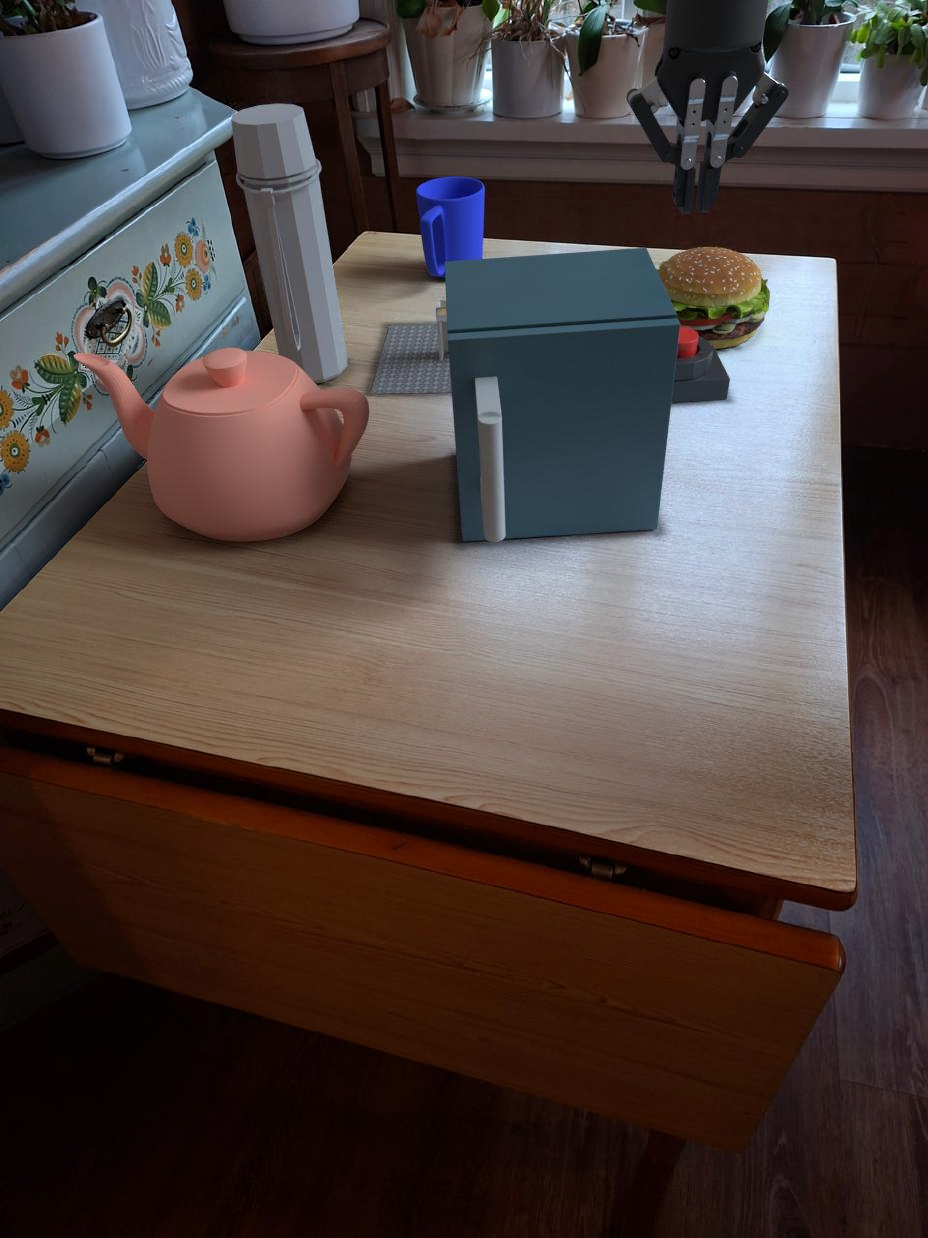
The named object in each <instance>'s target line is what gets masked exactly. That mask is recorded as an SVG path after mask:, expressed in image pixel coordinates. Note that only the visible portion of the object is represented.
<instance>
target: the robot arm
mask: <svg viewBox="0 0 928 1238" xmlns="http://www.w3.org/2000/svg"><path fill="white" fill-rule="evenodd" d="M768 5H769V0H666V11H665V12H666V13H665V24H664V33H663V34H664V35H663V47H662V53H661V57H660V59H659V61H658V62H657V64H656V66H655V69H654V76H653V77H652V78H651V79H650V80H648V81H646V83H644V84H643V85H642V86H641V87H640V88H637V87H636V88H631V89H629V90H628V91H627V93H626V98H625V99H626V102H627V104H628V105H629V107H630V109H631V111H632V113H633V114H634V116H635V117H636V119H637V121H638V123H639V125H640V126H641V128H642V130H643V132H644V133H645V135H646V137H647V139H648V140H649V142H650V144H651V146H652V147H653V149H654V151H655V152H656V154H657V155H658V157H659V159H660V161H661V162H662V163H665V164H672V165H674V174H673V184H672V194H671V196H672V200H673V203H674V205H675V207H676V208H678V210H679V211H680V213H681V214H682V215H689V214H692V210H693V202H694V192H695V183H696V176H697V174H696V173H697V169H696V167H695V164H696V157H697V149H698V140H699V138H700V135H701V125H702V122H705V129H706V131H705V140H704V149H703V156H704V157H703V160H700V162H699V170H698V179H697V189H696V194H695V195H696V196H695V207H696V209H697V211H698V212H699V214H702V213H703V214H704V213H709V211H710V207H711V206H714V205H716V202H717V200H718V196H719V189H720V182H721V174H722V168H723V167H724V165H725V163H727V161H730V160H732V159H734V158H736V159H741V158H743V157H744V156H746V154H747V153H748V152H749V150H750V149H751V148H752V147H753V145H754V144H755V142H756V141H757V140H758V138H759V137H760V135H761V134H762V133H763V132H764V130H765V129H766V128H767V126H768V125H769V123H771V121H772V119H773V118H774V117H775V116H776V114H777V113H778V111H779V110H780V109H781V107H782V106H783V105H784V103H785V102H786V100H787V99H788V97H789V94H790V91H789V89H788V87H787V86H786V84H784V83H783V82H782V81H780V80H779V79H778V78H773V77H772V76H771V75H769V74H768V73H767V72H766V71H765V69H766V63H765V59H764V57H763V52H762V45H763V40H764V35H765V28H766V20H767V14H768ZM753 90H754V91H753ZM752 91H753V92H752ZM661 92H662V94H663V95H664V98H665V99H666V101H667V102H668V104H669V106H670V108H671V109H672V111H673V113H674V114H675V115H676V122H675V123H676V125H675V128H676V137H675V143H674V142H672V141H669V140H668V137H667V135H666V134H665V132H664V130H663V128H662V126H661V125H660V123H659V121H658V120H657V118H656V116H655V114H656V113H657V112H658V111H659V109H660V102H659V95H660V93H661ZM751 92H752V94H751V95H752V96H751V98H752V101H753V102H752V103H751V105H750V106H749V107H748V109H747V110H746V111H745V113H744V114H743V116H742V117H741V118H740V120H739V121H738V123H737V124H736V125H735V127H733V129H732V123H733V117H734V114H735V113H736V112H737V111H738V109H739V108H740V107H741V105H743V103H744V102H745V100H746V99H747V97H748V96H749V95H750V93H751ZM731 130H732V131H731Z"/></svg>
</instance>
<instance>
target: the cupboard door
mask: <svg viewBox="0 0 928 1238" xmlns="http://www.w3.org/2000/svg"><path fill="white" fill-rule="evenodd" d="M679 332H680V323H679V321H678V318H673V319H658V320H643V321H629V322H614V323H599V324H585V325H570V326H555V327H541V328H526V329H511V330H496V331H482V332H467V333H452V334H448V350H449V364H450V378H451V391H452V392H451V403H452V404H451V405H452V415H453V416H452V418H453V432H454V444H455V457H456V458H455V459H456V471H457V485H458V497H459V511H460V525H461V526H460V527H461V539H462V542H474V541H487V542H490V543H498V542H501V541H503V540H505V539H507V540H508V539H521V538H535V537H536V538H537V537H551V536H568V535H583V534H584V535H585V534H598V533H600V534H601V533H613V532H630V531H647V530H657V529H658V526H659V525H658V524H659V516H660V510H661V509H660V507H661V499H662V491H663V483H664V482H663V481H664V473H665V464H666V463H665V462H666V456H667V455H666V454H667V448H668V447H667V446H668V438H669V430H670V429H669V428H670V420H671V411H672V404H673V403H672V394H673V385H674V376H675V368H676V359H677V350H678V341H679Z"/></svg>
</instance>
